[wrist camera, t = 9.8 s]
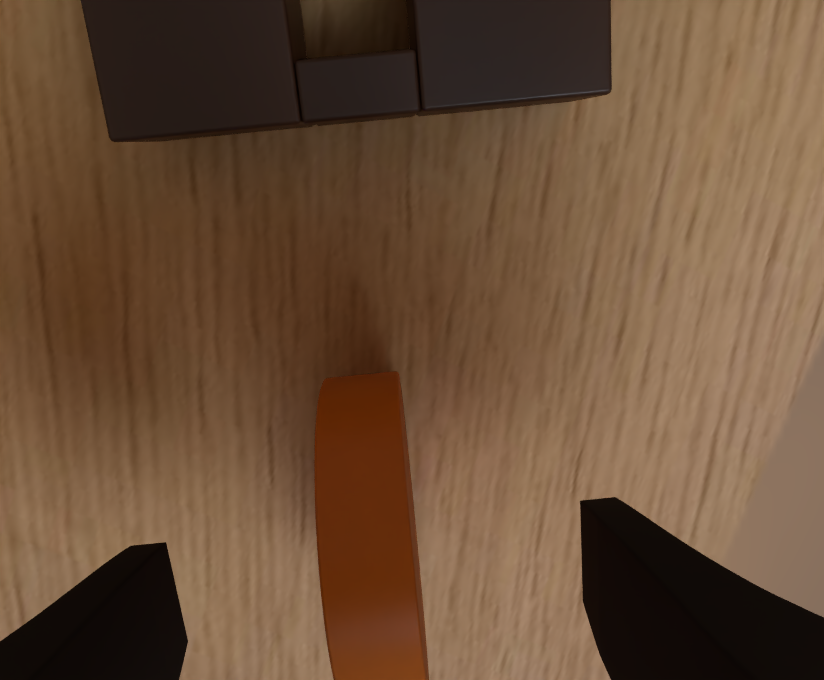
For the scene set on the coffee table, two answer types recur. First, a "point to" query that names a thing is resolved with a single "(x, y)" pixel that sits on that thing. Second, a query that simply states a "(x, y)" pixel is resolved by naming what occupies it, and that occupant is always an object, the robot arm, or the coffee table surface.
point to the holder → (334, 64)
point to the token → (367, 531)
